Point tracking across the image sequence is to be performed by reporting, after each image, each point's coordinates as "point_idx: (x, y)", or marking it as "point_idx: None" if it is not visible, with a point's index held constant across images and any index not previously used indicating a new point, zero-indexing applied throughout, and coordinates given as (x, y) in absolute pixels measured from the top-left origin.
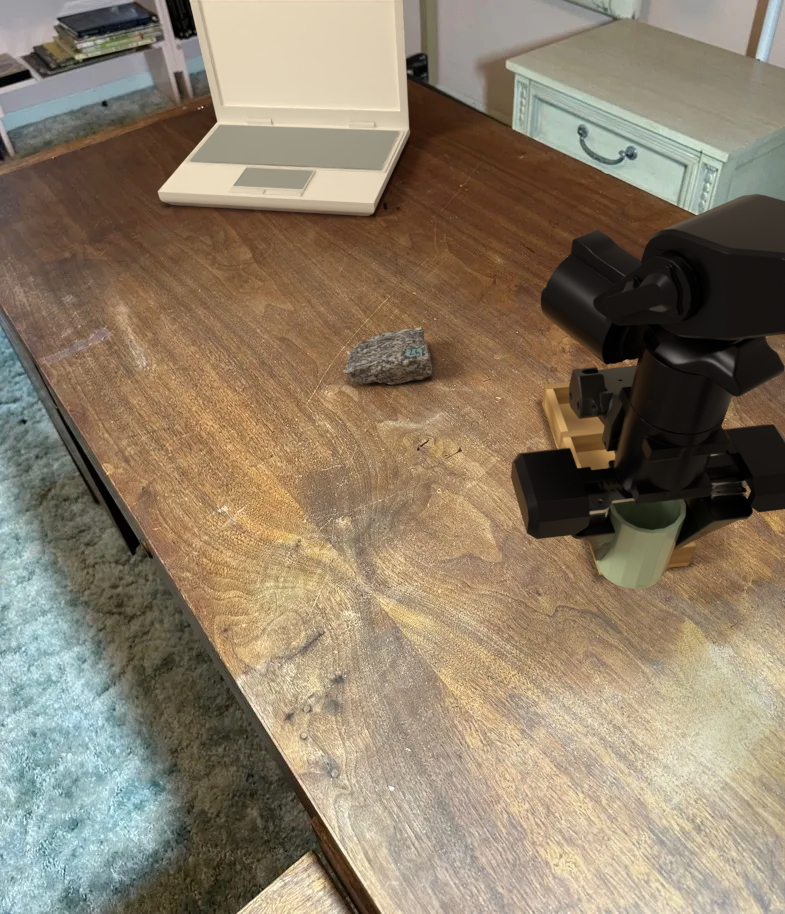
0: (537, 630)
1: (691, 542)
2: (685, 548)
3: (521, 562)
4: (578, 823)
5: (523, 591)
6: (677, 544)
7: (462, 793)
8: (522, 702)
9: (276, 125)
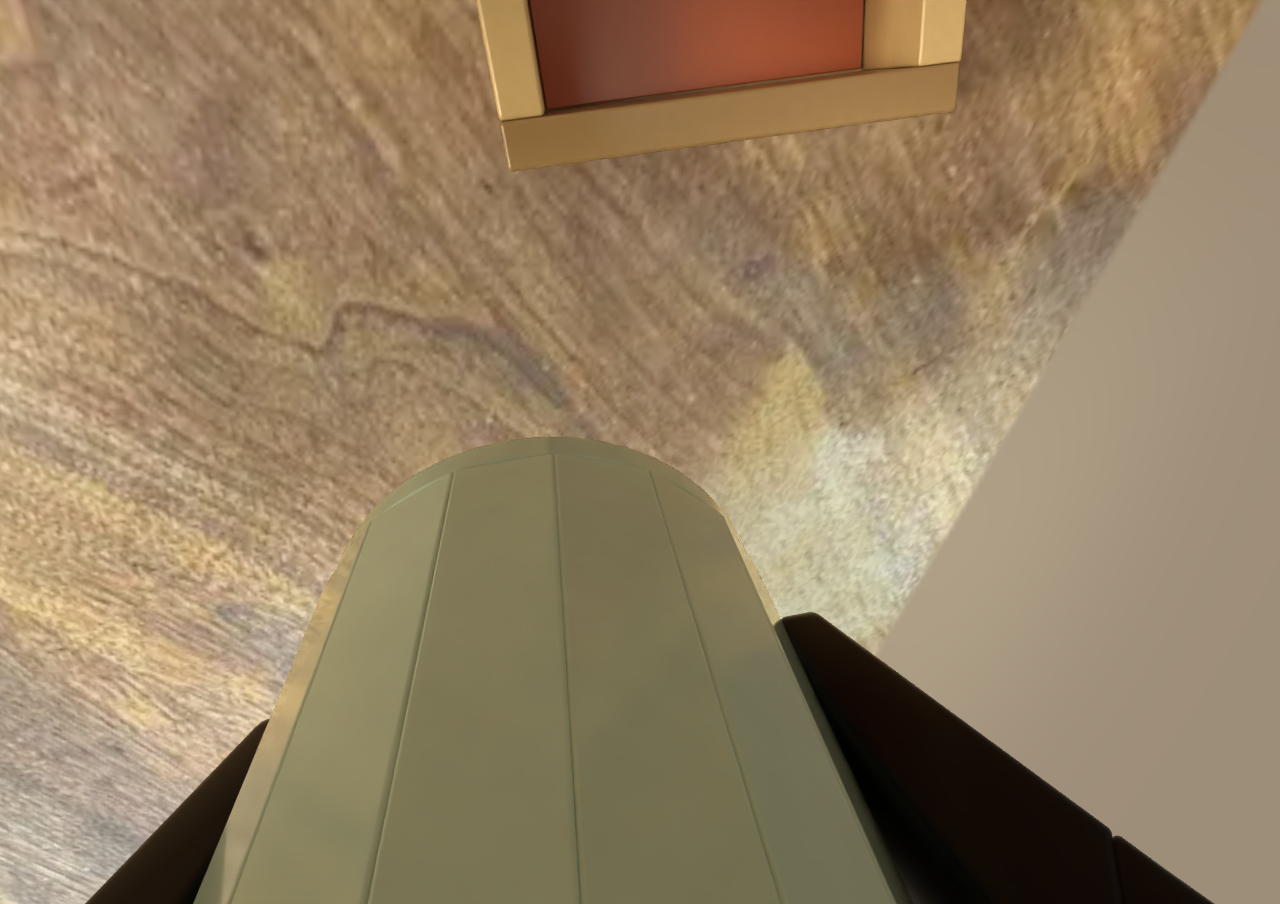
0: (275, 408)
1: (944, 88)
2: (902, 117)
3: (143, 69)
4: None
5: (187, 239)
6: None
7: (151, 808)
8: (262, 623)
9: None
